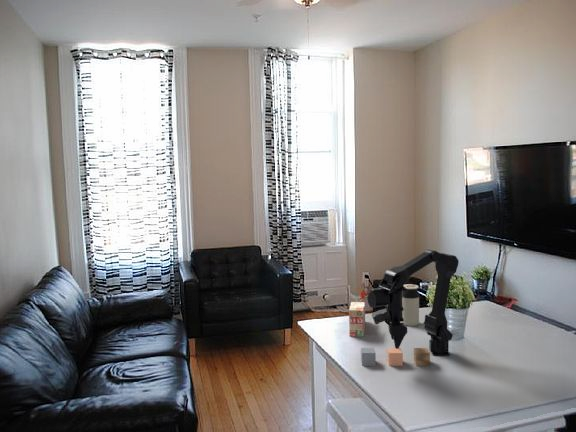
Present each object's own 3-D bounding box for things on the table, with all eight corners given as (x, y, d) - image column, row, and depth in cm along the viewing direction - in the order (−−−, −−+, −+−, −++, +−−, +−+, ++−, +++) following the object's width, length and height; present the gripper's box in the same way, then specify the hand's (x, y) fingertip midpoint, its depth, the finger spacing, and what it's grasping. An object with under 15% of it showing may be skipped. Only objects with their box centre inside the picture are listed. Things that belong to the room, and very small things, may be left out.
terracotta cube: (400, 360, 183) (400, 347, 183) (402, 365, 178) (402, 353, 178) (387, 360, 183) (387, 347, 183) (389, 365, 178) (389, 353, 178)
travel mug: (422, 324, 222) (422, 287, 220) (408, 327, 219) (408, 289, 217) (412, 319, 230) (412, 283, 228) (398, 322, 227) (398, 285, 225)
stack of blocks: (352, 321, 231) (351, 296, 229) (365, 321, 229) (365, 296, 228) (349, 336, 210) (348, 309, 209) (363, 337, 209) (363, 310, 207)
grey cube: (374, 360, 184) (374, 348, 183) (375, 365, 179) (375, 353, 178) (361, 360, 184) (360, 348, 184) (362, 365, 179) (362, 353, 179)
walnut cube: (427, 360, 182) (427, 347, 182) (429, 365, 177) (430, 353, 177) (413, 360, 183) (413, 347, 182) (416, 365, 178) (416, 353, 177)
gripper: (370, 296, 188) (370, 335, 190) (375, 311, 170) (376, 353, 171) (398, 296, 187) (399, 335, 189) (407, 311, 169) (407, 353, 171)
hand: (395, 343), depth 180 cm, fingers open, 9 cm apart
